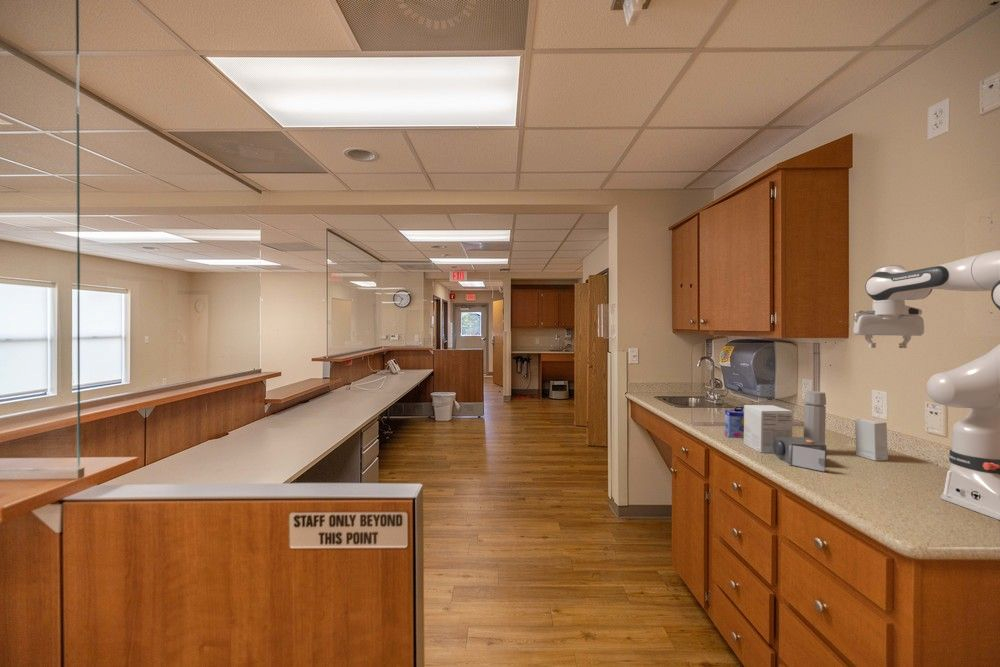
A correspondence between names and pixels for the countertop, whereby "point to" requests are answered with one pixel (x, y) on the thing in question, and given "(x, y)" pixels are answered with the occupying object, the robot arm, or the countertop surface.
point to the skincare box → (871, 439)
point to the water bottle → (815, 415)
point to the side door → (807, 458)
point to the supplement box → (766, 426)
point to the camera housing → (783, 445)
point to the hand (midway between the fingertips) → (887, 347)
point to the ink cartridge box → (734, 422)
